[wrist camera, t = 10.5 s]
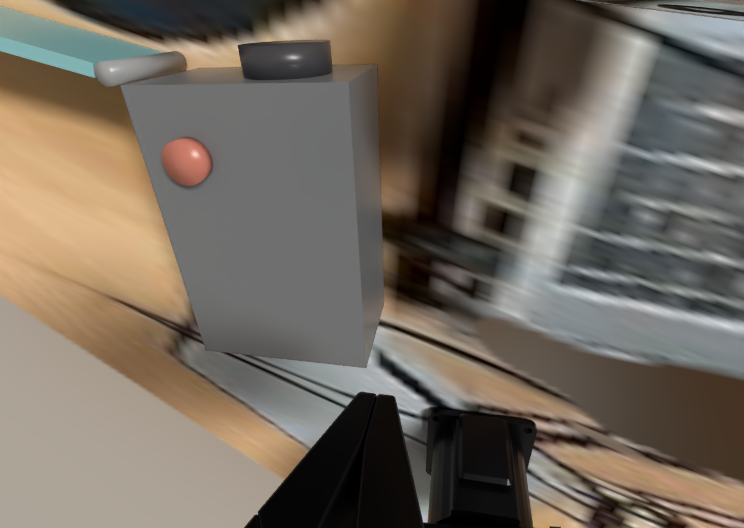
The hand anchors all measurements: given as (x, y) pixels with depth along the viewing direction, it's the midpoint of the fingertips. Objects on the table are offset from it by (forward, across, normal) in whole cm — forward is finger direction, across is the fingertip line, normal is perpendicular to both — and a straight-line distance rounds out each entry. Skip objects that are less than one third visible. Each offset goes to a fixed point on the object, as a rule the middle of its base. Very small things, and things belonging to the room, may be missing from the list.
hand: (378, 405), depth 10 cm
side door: (+12, +16, -8) cm, 21 cm away
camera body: (+12, +6, 0) cm, 13 cm away
